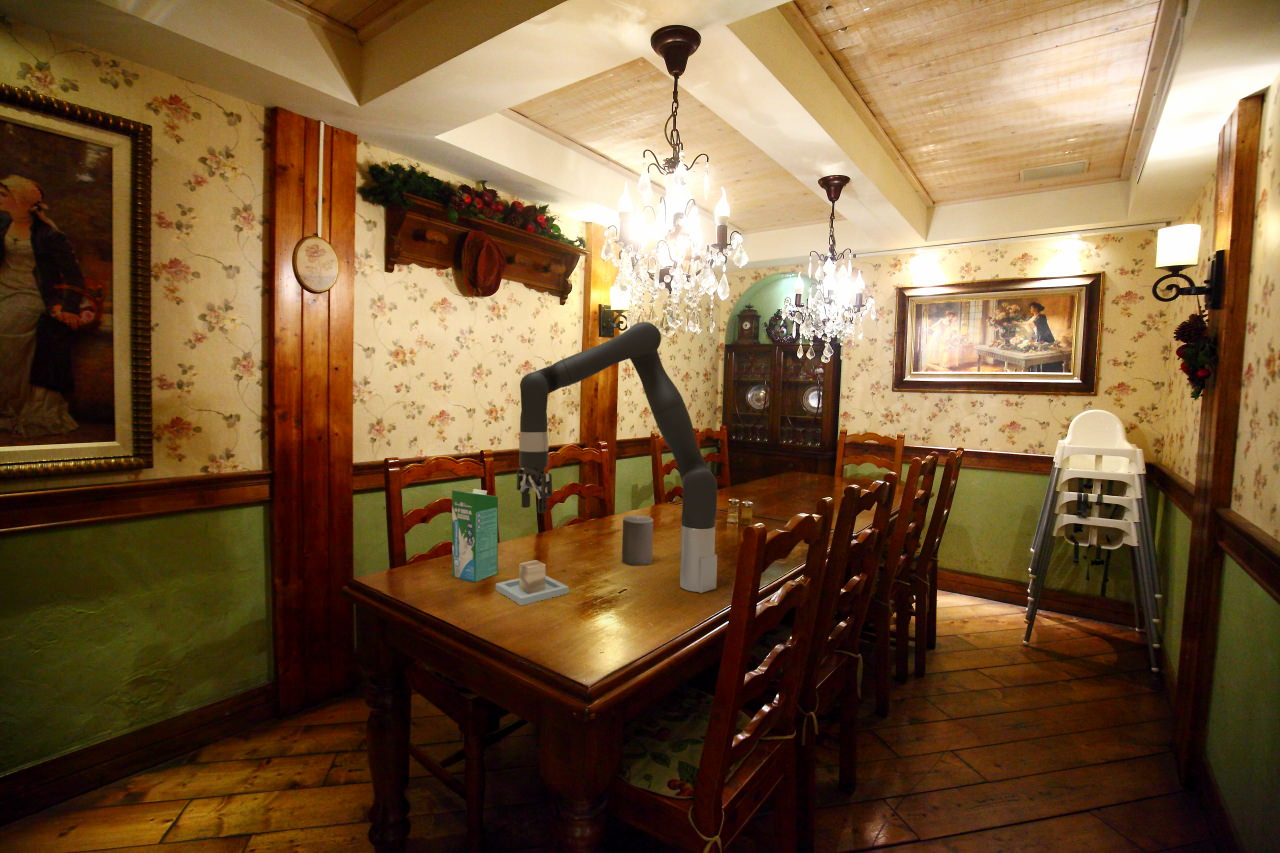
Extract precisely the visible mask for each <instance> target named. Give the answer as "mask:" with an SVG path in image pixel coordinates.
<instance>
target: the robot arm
mask: <svg viewBox="0 0 1280 853" xmlns="http://www.w3.org/2000/svg"><path fill="white" fill-rule="evenodd" d="M661 335H662V334H661V331H660V329H659V328H658V327H657V326H656V325H655V324H653V323H651V322H648V321H641V322H637V323H635V324H633V325H632V326H631V327H630V328H628V329H627V330H625V331H624V332H622V333H620V334H619V335H617V336H615V337H613V338H611V339H609V340H607V341H605V342H603V343H601V344H598V345H596V346H594V347H591V348H588V349H586V350H582V351H580V352H578V353H574V354H572V355H570V356H568V357H565V358H563V359H560V360H558V361H556V362H554V363H553V364H551V365H549V366H546V367H543V368H541V369H538V370H536V371H532V372H529V373H526V374H524V376H523V377H522V378H521V379H520V383H519V389H520V406H521V407H520V408H521V412H520V417H519V421H520V423H519V429H520V430H519V431H520V432H519V441H518V442H519V443H518V448H519V455H518V456H519V457H518V458H519V459H518V460H519V462H518V463H519V464H518V465H519V467H520V468H517V469H516V490H517V491H519V494H521V507H522V508H523V509H527V508H530V507H531V493H530V492H531V491H532V489H533V491H534V493H536V496H537V513H538V514H545V513H546V512H548V511H547V510H548V509H547V507H548V504H547V503H548V499H549V497H550V498H551V497H553V480H552V478H553V476H552V473H545V468H547V467H549V435H548V412H547V411H548V397H549V394H551V393H553V392H556V391H557V390H559V389H562V388H565V387H569V386H573V385H575V384H577V383H578V382H582V381H584V380H586V379H588V378H590V377H592V376H595V375H596V374H598V373H600V372H602V371H603V370H605V369H607V368H609V367H612V366H614V365H616V364H617V363H621V362H623V361H626V360H630V362H631V363H632V365H633V367H634V369H635V371H636V373H637V375H638V377H639V380H640V382H641V385H642V388H643V390H644V394H645V397H646V400H647V402H648V406H649V408H650V409H651V414H652V416H653V418H654V420H655V423H656V426H657V428H658V430H659V432H660V434H661V436H662V438H663V439H664V441H665V443H666V445H667V447H668V448H669V450H670V453H672V456H673V458H674V461H675V463H676V467H677V469H678V474H679V477H680V481H681V486H682V511H681V512H682V513H681V530H680V531H681V532H680V533H681V535H680V570H679V571H680V575H679V576H680V578H679V580H680V581H679V586H680V587H681V589H684V590H685V591H689V592H693V593H695V592H697V593H700V594H703V593H706V592H708V591H712V590H716V589H717V573H718V571H717V570H718V555H717V554H716V553H715V544H716V543H715V541H716V540H715V539H716V537H715V536H716V519H717V510H718V509H717V508H718V506H717V505H718V481H717V478H716V476H715V475H714V474H713V472H712V471H711V470H710V468H709V467H708V464H707V463H706V461H705V459H704V456H703V454H702V453H701V450H700V449H699V446H698V443H697V440H696V439H697V438H696V434H695V430H694V427H693V422H692V419H691V416H690V413H689V411H688V408H687V406H686V403H685V402H684V398H683V396H682V394H681V393H680V391H679V389H678V388H677V386H676V384H675V383H674V382H673V381H672V379H671V378H670V377H669V375H668V374H667V372H666V370H665V368H664V365H663V363H662V360H661V358H660V354H659V351H658V350H659V348H660V346H661V343H662V336H661Z"/></svg>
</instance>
